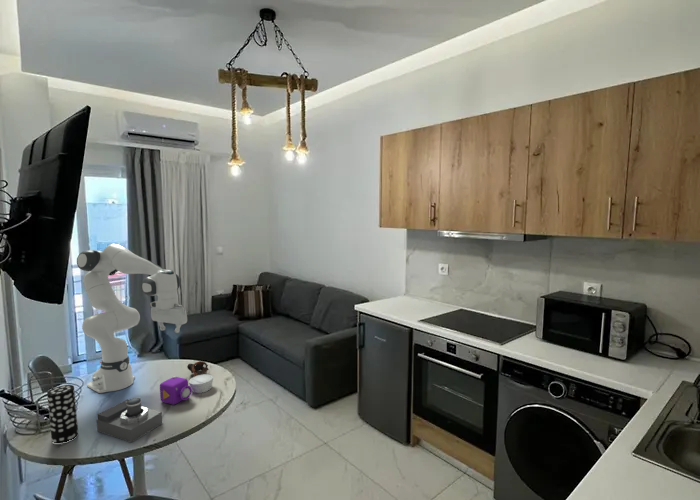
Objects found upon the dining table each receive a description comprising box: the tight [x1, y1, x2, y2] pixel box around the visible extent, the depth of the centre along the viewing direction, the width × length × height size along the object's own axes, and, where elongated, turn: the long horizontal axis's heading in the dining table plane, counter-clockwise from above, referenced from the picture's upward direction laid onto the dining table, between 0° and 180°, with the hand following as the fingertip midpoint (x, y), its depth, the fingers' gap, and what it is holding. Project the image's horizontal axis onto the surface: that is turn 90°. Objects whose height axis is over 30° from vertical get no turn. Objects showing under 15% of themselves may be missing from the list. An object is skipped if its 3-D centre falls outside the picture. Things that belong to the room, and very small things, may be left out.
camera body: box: [96, 399, 163, 443], centre depth 154 cm, size 20×14×8 cm
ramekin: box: [188, 373, 214, 394], centre depth 187 cm, size 11×11×5 cm
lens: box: [127, 397, 142, 417], centre depth 152 cm, size 5×5×7 cm
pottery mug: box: [186, 360, 210, 377], centre depth 203 cm, size 12×10×8 cm
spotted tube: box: [46, 384, 79, 443], centre depth 146 cm, size 8×8×20 cm
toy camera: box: [159, 375, 193, 405], centre depth 175 cm, size 11×14×10 cm
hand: (170, 331), depth 180 cm, fingers open, 8 cm apart
